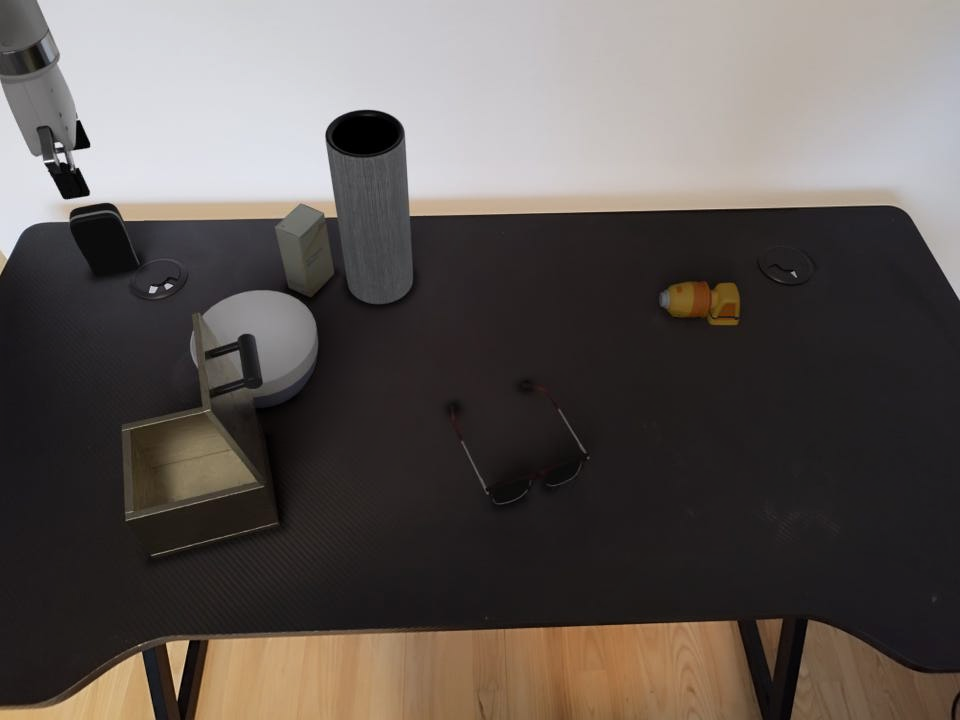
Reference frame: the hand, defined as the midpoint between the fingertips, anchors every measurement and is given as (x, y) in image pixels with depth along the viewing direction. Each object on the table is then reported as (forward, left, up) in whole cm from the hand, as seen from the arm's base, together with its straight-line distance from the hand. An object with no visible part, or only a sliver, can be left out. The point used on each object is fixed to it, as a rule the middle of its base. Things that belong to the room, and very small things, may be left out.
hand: (78, 171), depth 102 cm
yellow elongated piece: (+80, -28, -22) cm, 87 cm away
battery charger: (-2, +5, -22) cm, 23 cm away
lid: (+14, -39, -4) cm, 41 cm away
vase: (+36, -9, -22) cm, 43 cm away
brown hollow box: (+8, -39, -22) cm, 45 cm away
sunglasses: (+46, -42, -22) cm, 66 cm away
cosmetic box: (+26, -6, -22) cm, 34 cm away
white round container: (+17, -23, -22) cm, 36 cm away
